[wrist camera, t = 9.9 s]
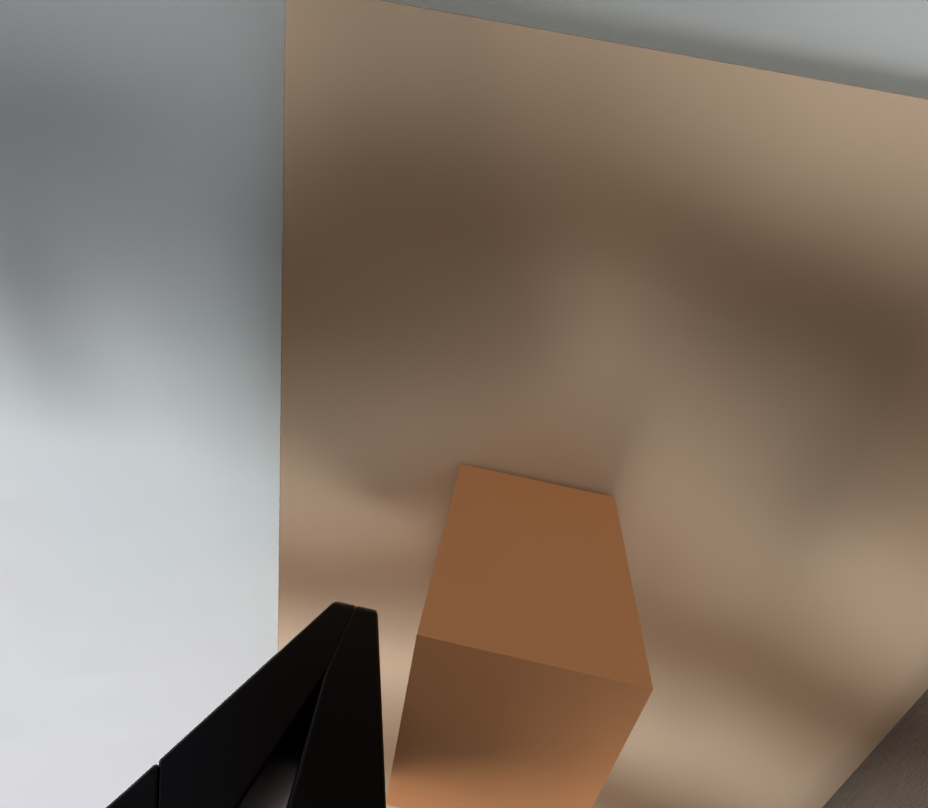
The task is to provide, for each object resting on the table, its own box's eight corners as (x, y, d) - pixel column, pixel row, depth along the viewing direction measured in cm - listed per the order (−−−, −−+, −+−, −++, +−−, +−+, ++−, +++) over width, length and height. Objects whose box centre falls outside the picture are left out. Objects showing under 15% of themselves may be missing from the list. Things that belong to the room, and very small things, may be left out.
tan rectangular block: (562, 638, 12) (570, 849, 8) (431, 608, 12) (385, 804, 9) (614, 496, 10) (653, 688, 7) (459, 463, 10) (416, 634, 7)
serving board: (816, 908, 18) (834, 957, 17) (291, 779, 18) (276, 818, 17) (1534, 224, 8) (1693, 238, 7) (318, 3, 8) (285, -18, 7)
